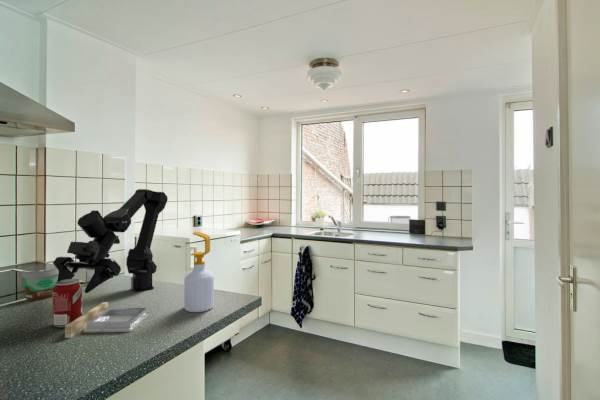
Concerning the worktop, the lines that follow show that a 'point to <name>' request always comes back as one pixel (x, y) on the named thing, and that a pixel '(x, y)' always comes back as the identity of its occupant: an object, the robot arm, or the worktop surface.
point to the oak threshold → (84, 320)
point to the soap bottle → (199, 283)
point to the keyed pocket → (117, 320)
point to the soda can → (66, 302)
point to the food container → (40, 283)
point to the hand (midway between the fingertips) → (71, 291)
